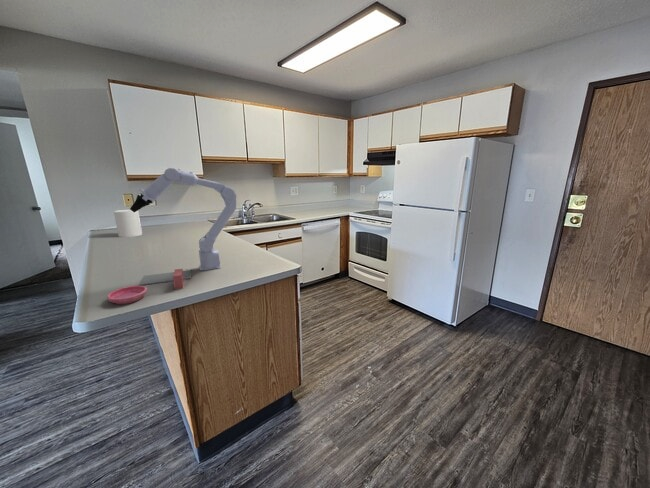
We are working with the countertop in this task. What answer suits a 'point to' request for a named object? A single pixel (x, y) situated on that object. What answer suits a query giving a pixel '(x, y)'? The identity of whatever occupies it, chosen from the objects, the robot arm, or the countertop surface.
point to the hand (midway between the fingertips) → (133, 209)
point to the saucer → (127, 294)
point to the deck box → (178, 278)
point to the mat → (162, 278)
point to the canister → (128, 223)
